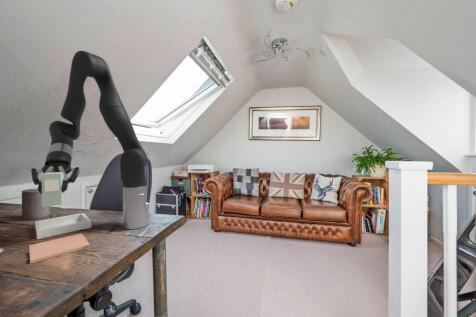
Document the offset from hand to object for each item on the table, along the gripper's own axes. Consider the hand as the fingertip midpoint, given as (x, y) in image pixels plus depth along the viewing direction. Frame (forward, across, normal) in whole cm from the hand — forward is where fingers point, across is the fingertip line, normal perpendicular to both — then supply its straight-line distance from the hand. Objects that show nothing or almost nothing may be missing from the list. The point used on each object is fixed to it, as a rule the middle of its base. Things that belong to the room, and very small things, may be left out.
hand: (52, 191), depth 71 cm
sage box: (+2, 0, +5) cm, 5 cm away
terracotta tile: (+17, +3, +9) cm, 19 cm away
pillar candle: (-17, -15, +42) cm, 47 cm away
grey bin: (+2, 0, +23) cm, 23 cm away
